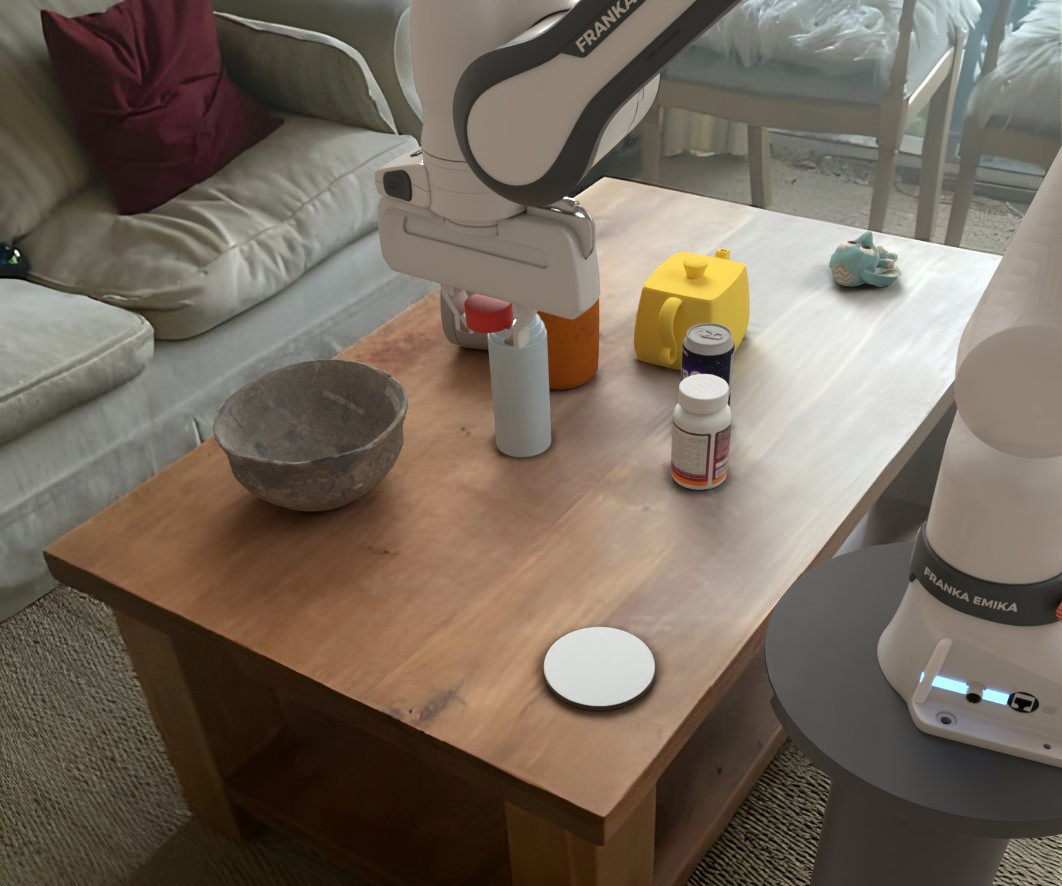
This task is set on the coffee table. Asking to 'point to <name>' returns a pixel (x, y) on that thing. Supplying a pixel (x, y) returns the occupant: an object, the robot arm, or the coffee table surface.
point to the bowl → (313, 432)
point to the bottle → (521, 392)
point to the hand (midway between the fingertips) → (492, 336)
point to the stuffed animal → (863, 263)
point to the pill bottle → (701, 432)
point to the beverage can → (708, 352)
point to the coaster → (599, 668)
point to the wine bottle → (572, 347)
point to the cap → (487, 314)
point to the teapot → (689, 304)
